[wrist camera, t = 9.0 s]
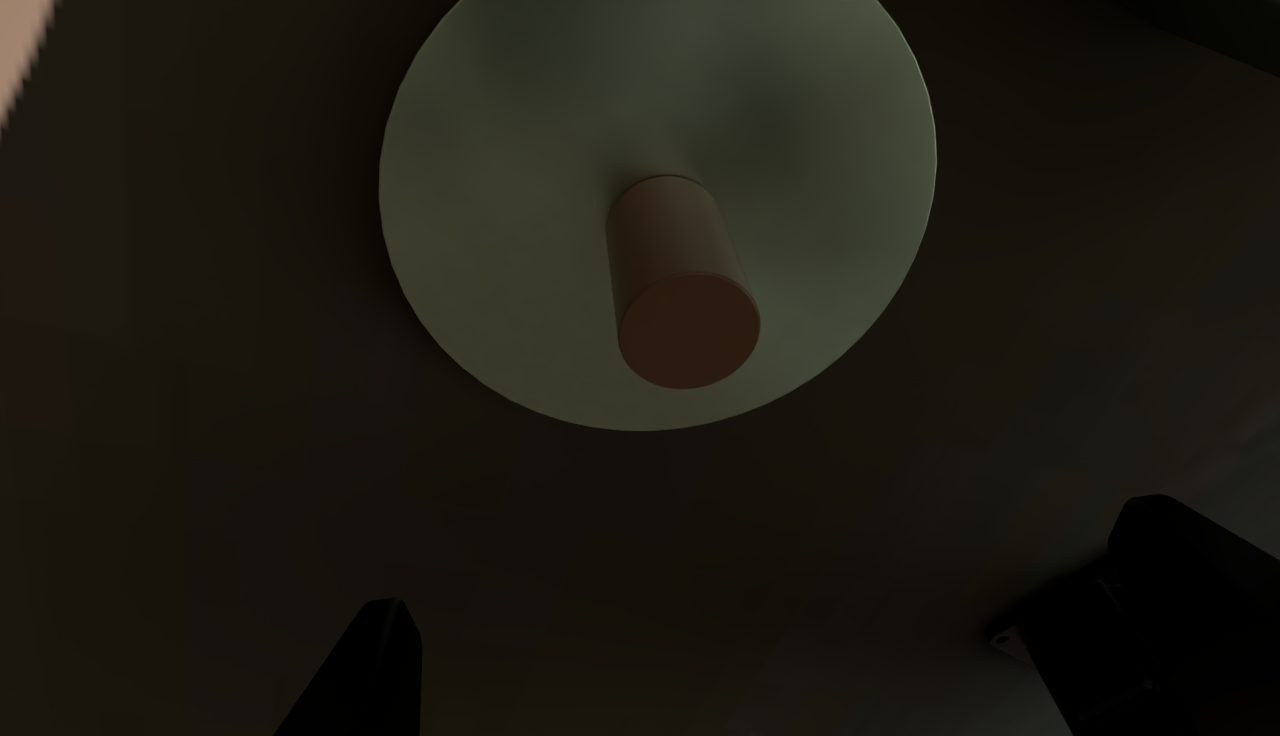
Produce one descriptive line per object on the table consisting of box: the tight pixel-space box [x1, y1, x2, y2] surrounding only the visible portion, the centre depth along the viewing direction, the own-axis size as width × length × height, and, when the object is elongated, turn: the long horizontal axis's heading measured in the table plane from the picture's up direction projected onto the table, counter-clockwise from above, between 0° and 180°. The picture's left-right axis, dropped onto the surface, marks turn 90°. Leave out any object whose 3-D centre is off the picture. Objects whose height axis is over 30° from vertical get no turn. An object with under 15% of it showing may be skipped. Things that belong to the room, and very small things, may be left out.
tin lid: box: [378, 0, 937, 431], centre depth 15 cm, size 12×12×5 cm
